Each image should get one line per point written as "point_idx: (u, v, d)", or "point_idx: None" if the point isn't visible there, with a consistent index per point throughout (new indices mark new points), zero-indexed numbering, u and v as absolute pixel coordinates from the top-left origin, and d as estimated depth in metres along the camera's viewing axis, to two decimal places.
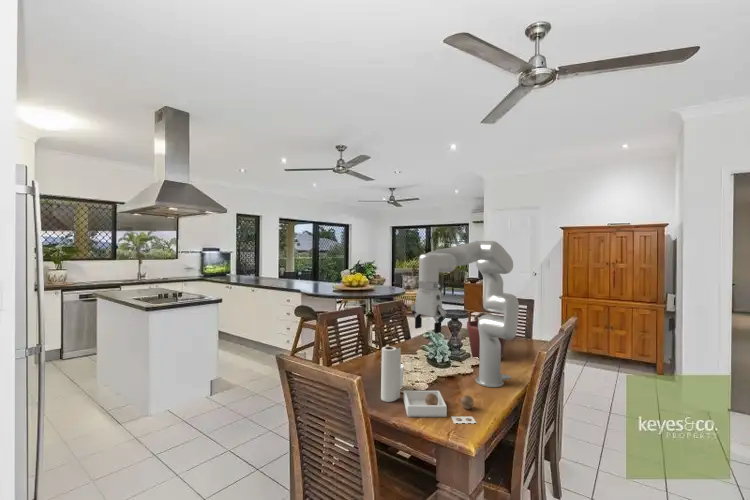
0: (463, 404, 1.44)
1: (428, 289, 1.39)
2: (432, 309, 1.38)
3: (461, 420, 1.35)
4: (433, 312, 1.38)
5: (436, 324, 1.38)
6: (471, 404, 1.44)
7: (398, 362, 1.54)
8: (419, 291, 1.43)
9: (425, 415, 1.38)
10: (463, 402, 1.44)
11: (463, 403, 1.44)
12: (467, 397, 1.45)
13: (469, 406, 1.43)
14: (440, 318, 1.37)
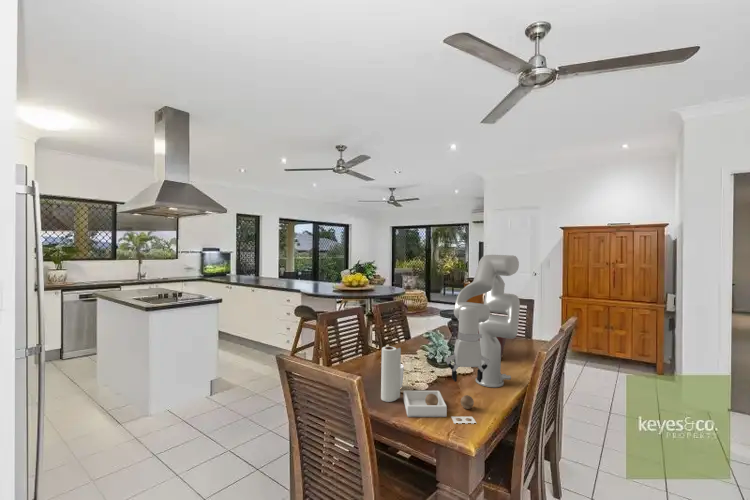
0: (463, 404, 1.44)
1: (476, 341, 1.42)
2: (479, 359, 1.43)
3: (461, 420, 1.35)
4: (480, 362, 1.43)
5: None
6: (471, 404, 1.44)
7: (398, 362, 1.54)
8: (463, 344, 1.43)
9: (425, 415, 1.38)
10: (463, 402, 1.44)
11: (463, 403, 1.44)
12: (467, 397, 1.45)
13: (469, 406, 1.43)
14: (485, 367, 1.44)
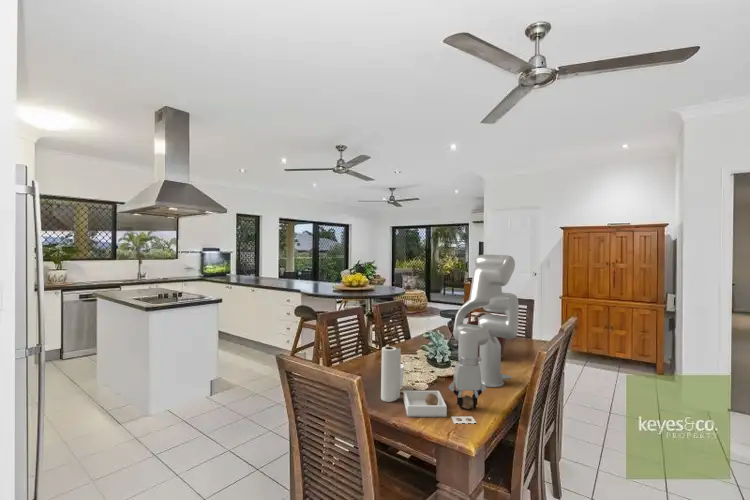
0: (463, 404, 1.44)
1: (476, 365, 1.43)
2: (479, 383, 1.44)
3: (461, 420, 1.35)
4: (480, 386, 1.44)
5: (476, 399, 1.45)
6: (471, 404, 1.44)
7: (398, 362, 1.54)
8: (463, 368, 1.43)
9: (425, 415, 1.38)
10: (463, 402, 1.44)
11: (463, 403, 1.44)
12: (467, 397, 1.45)
13: (469, 406, 1.43)
14: (479, 392, 1.45)
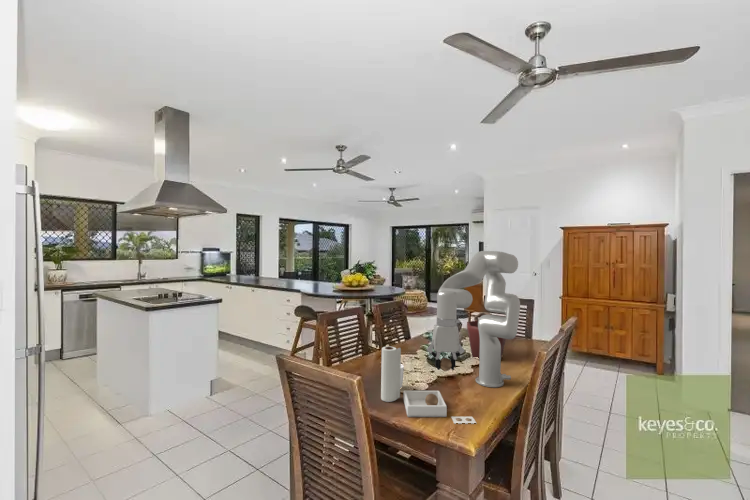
0: (441, 366, 1.43)
1: (454, 326, 1.42)
2: (457, 345, 1.43)
3: (461, 420, 1.35)
4: (458, 347, 1.43)
5: (454, 361, 1.44)
6: (449, 366, 1.43)
7: (398, 362, 1.54)
8: (441, 329, 1.42)
9: (425, 415, 1.38)
10: (441, 364, 1.43)
11: (441, 365, 1.43)
12: (445, 359, 1.44)
13: (447, 368, 1.43)
14: (457, 354, 1.44)
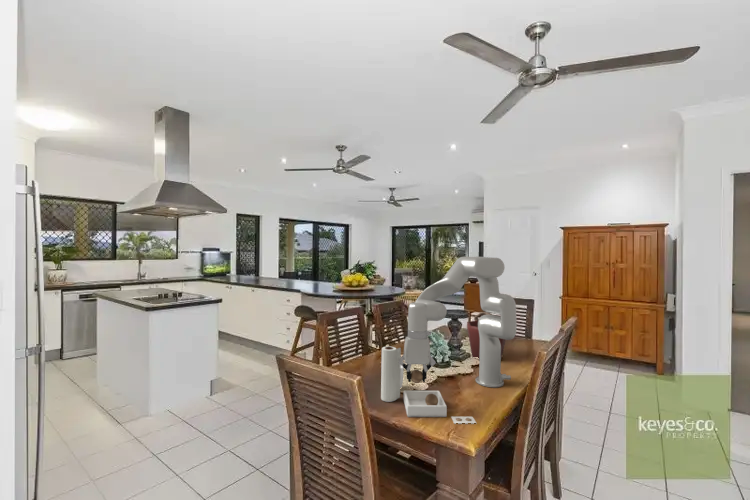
0: (412, 378, 1.43)
1: (424, 338, 1.42)
2: (427, 357, 1.43)
3: (461, 420, 1.35)
4: (428, 360, 1.43)
5: (425, 373, 1.44)
6: (420, 378, 1.43)
7: None
8: (411, 341, 1.42)
9: (425, 415, 1.38)
10: (412, 376, 1.43)
11: (412, 377, 1.43)
12: (416, 371, 1.44)
13: (418, 380, 1.43)
14: (429, 367, 1.44)
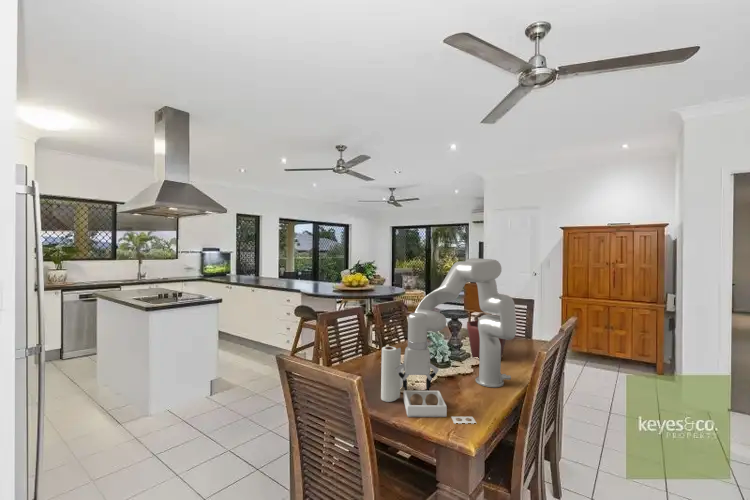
0: (412, 402, 1.44)
1: (424, 349, 1.42)
2: (427, 367, 1.43)
3: (461, 420, 1.35)
4: (428, 370, 1.43)
5: (429, 382, 1.44)
6: (420, 402, 1.43)
7: (398, 362, 1.54)
8: (411, 352, 1.43)
9: (425, 415, 1.38)
10: (412, 400, 1.44)
11: (412, 401, 1.44)
12: (416, 395, 1.44)
13: (418, 404, 1.43)
14: (433, 375, 1.44)
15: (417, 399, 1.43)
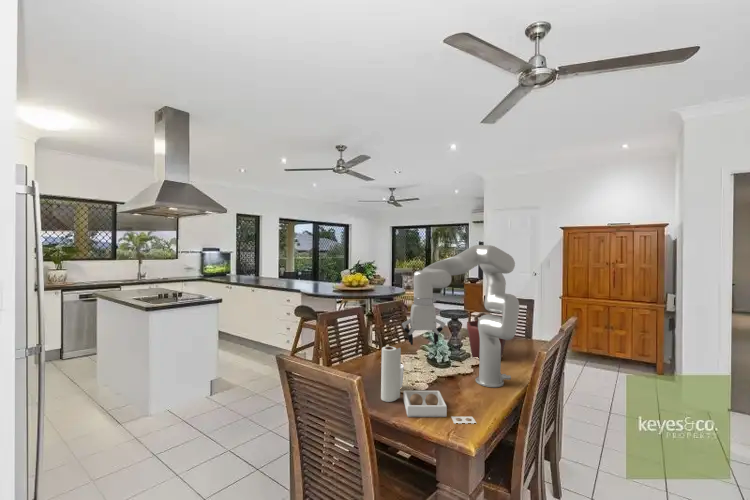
0: (412, 403, 1.44)
1: (430, 304, 1.46)
2: (433, 322, 1.47)
3: (461, 420, 1.35)
4: (434, 325, 1.47)
5: (436, 336, 1.48)
6: (419, 402, 1.43)
7: (398, 362, 1.54)
8: (417, 308, 1.46)
9: (425, 415, 1.38)
10: (412, 401, 1.44)
11: (412, 402, 1.44)
12: (416, 395, 1.44)
13: (417, 404, 1.43)
14: (440, 329, 1.48)
15: (417, 399, 1.43)
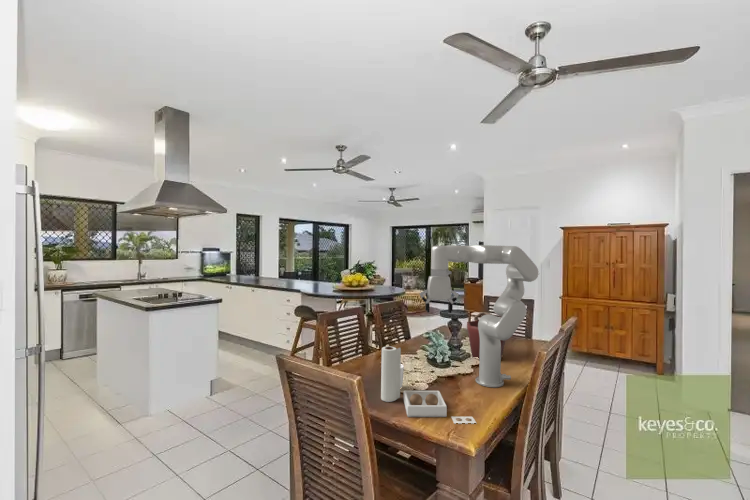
0: (411, 403, 1.44)
1: (446, 276, 1.61)
2: (449, 293, 1.62)
3: (461, 420, 1.35)
4: (449, 295, 1.62)
5: (451, 305, 1.63)
6: (419, 402, 1.43)
7: (398, 362, 1.54)
8: (434, 279, 1.61)
9: (425, 415, 1.38)
10: (411, 401, 1.44)
11: (411, 402, 1.44)
12: (415, 395, 1.44)
13: (417, 404, 1.43)
14: (454, 299, 1.63)
15: (416, 399, 1.43)
